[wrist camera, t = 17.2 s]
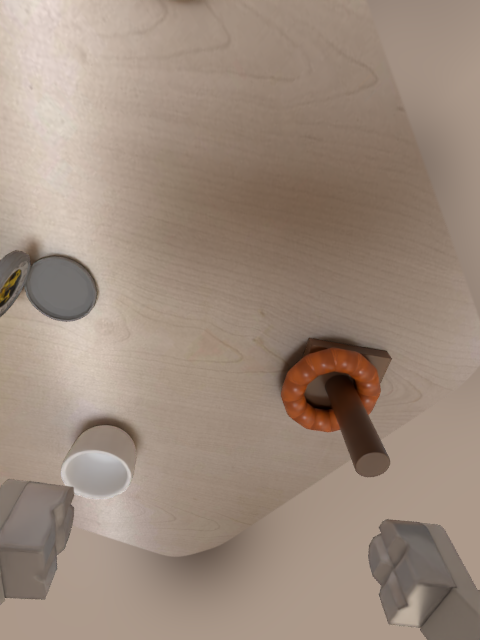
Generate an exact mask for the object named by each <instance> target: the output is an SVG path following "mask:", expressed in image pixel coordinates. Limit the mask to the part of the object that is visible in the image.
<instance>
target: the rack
mask: <svg viewBox="0 0 480 640" xmlns="http://www.w3.org/2000/svg"><path fill="white" fill-rule="evenodd" d="M328 348H339V349H345V350H350V351H356V352H358V353H360V354H361V355H362V356H363V357H364V358H366V359H367V360H368V361H369V362H370V363H371V364H372V365H374V366H375V368H376V369H377V372H378V377H379V382H380V383H381V381H382V379H383V377H384V374H385V372H386V370H387V368H388V366H389V364H390V362H391V359H392V358H391V357H390V355H389V354H388V353H387V351H382V350H376V349H370V348H364V347H358V346H352V345H347V344H341V343H335V342H329V341H323V340H318V339H312V338H309V340H308V343H307V346H306V348H305V351H304V354H303V357H304V356H306V355H307V354H310V353H314V352H317V351H321V350H324V349H328ZM303 357H302V358H303ZM356 388H357V387H356V382H355V379H353V378H352V377H351V376H350V375H349V374H347V373H341V372H335V371H334V372H330V373H326V374H323V375H319V376H318V377H316V378H315V379H314V380H313V381H312V382H310V383H309V384H308V385H307V388H306V391H305V393H304V396H305V399H306V402H307V403H308V404H310V405H311V406H312V407H314V408H318V409H325V410H329V409H332V408H333V411H334V414H335V416H336V419H337V422H338V424H339V427H340V430H341V432H342V435H343V438H344V440H345V443H346V446H347V449H348V451H349V454H350V457H351V459H352V462H353V465H354V467H355V470H356V472H357V473H358V474H360V475H361V476H364V477H375V476H378V475H380V474H382V473H384V472H385V471H386V470H387V469H388V468H389V465H390V459H389V456H388V454H387V453H386V450H385V448H384V447H383V444H382V442H381V440H380V438H379V436H378V434H377V432H376V430H375V428H374V426H373V424H372V422H371V420H370V418H369V416H368V413H367V411H366V409H365V407H364V405H363V403H362V401H361V399H360V397H359V395H358V393H357V391H356Z"/></svg>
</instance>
